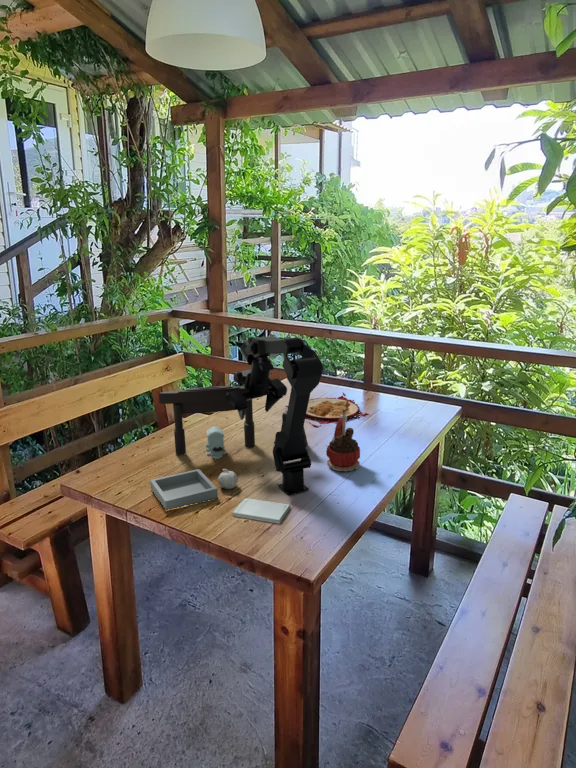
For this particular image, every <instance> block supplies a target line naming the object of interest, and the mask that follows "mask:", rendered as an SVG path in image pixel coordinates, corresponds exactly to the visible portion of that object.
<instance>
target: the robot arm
mask: <svg viewBox="0 0 576 768" xmlns="http://www.w3.org/2000/svg"><path fill="white" fill-rule="evenodd" d="M239 348H240V349H239V351H240V353H241V355H242V357H243V358H244V360H245V361H246V363H247V364H248V365H250V366H251V368H250V369H246V370H245V369H244V370H242V371H239V370H238V371H235V372H233V382H234V383H236V384H242V385H243V386H244V388H245V389H248V393H244V394H242V393H241V392H240V391H239V390H235V391H232V392H229V393H227V395H226V400H227V401H228V403H229V404H230V405H231V406H232V407H233V408H234V409H235V410H234V411H237V412H238V416H239V419H240V420H241V421H243V420H244V419H245V413H246V410H247V407H246V406H247V401H248V400H251V399H252V400H254V399H258V398H263V397H265V396H266V398H265V399H266V400H265V404H264V405H265V407H264V408H265V409H264V411H265V412H266V413H268V412H269V411H270V410H271V409H272V407H273V406H275V404H277V402H278V401H279V400H280V399H283V397H284V396H287V394H288V387H287V385H285V384H284V382H282V381H281V380H280V379H279V378H274V379H271V378H270V376H271V371H272V370H273V371H274V369H275V368H274V364H273V361H272V359H271V358H270V357H275V356H277V355H279V354H282V355H283V362H282V364H281V365H282V368H283V370H284V372H285V374H286V380H287V381H288V383H289V385H290V386H291V388H290V394H289V400H288V405H287V406H288V408H287V410H286V411H287V416H286V421H285V427H284V431H281V430H280V431H276V433H275V437H274V438H275V439H274V441H273V444H274V445H273V447H272V456H273V463H274V466H275V467H274V468H275V471H276V472H277V473H278V472H279V473H281V476H282V477H281V478H282V482H281V483H278V484H277V488H279V489H280V490H281V491H283V492H284V493H285V494H286V495H287V496H292V495H295V494H296V495H297V494H299V493H303V492H307V491H309V489H310V488H309V487H308V486H307V485H305V479H304V478H305V472H304V471H305V470H304V469H311V467H312V466H311V465H312V460H311V456H310V454H309V452H308V449H307V446H306V443H305V441H304V439H303V438H302V432H303V427H304V428H305V423H306V422H305V421H306V419H305V417H306V412H307V407H308V403H309V400H310V399H311V398H310V397H311V393H312V392H313V391H314V390H315V389H316V388H317V387H318V386H319V384H320V381H321V378H322V377H323V376H322V375H323V372H324V365H323V363H322V361H321V359H320V357H319V356H318V354H317V352H316V351H315V350H313V349H312V348H311V347H309V346H307V345H306V344H305V342H304V341H303V339H302V338H301V337H297V336H296V337H289V338H288V337H287V338H281V339H279V337H277V336H274V335H269V336H268V335H267V336H260V337H259V336H258V337H257V336H256V337H254V336H251V337H247V339H246V341H244V342H243V343H242V345H240V346H239ZM293 354H299V355H300V356H301V357H302V358H296V359H291V360H290V358H289V355H293ZM262 396H263V397H262Z"/></svg>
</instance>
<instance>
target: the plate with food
mask: <svg viewBox="0 0 576 768" xmlns="http://www.w3.org/2000/svg"><path fill="white" fill-rule="evenodd" d="M285 408H287V409H288V405H285ZM343 409H346V416H347V420H349V419H353V418H355V417H356V418H357V419H361V418H362V417H364V418H365V417H367V416H370V413H367V412H365V413H364V412H362V411H361V412H360V410H361V407H359V406H358V404H357V403H356V402H355V400H354V399H348V398H347V397H346V394H345V393H344V391H343V392H342V395H341V396H338V397H337V398H336V397H323V398H322V397H319V398H309V403H308V407H307V412H306V417H305V420H309V422H308V424H309V425H311V426H313V427H317V424H315V423H314V424H313V423H311V422H310V421H314V422H317V423H318V424H320V425H318V427H322V425H324V424H325V425H327V424H333V423H337V422H338V420H339V417H340V415H343Z"/></svg>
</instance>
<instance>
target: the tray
mask: <svg viewBox="0 0 576 768" xmlns="http://www.w3.org/2000/svg"><path fill="white" fill-rule="evenodd" d="M149 484H150V490H151V489H152V490H153V492H154V493H155V495H156V496H157V498H158V499H159V501H160V502H161V504H162V505H163V507H164V508H165V509H166V510H168V509H172V508H177V507H181V506H184V505H190V504H195V503H199V504H201V503H200V502H203V501H207V502H209V501H208V500H211V501H214V500H213V499H215V500H218V499H219V497H218V496H219V495H218V493H219V491H218V487H216V485H214V483H213V482H212V481H211V480H210V478H208V477H207V476H206V474H204V473H203V472H202V470H201V469H200V468H196V469H193V470H188V471H184V472H180V473H179V472H178V473H175V474H171V475H167V476H161V477H158V478H153V479H150V480H149ZM153 492H152V493H153ZM155 495H154V496H155ZM157 498H156V499H157ZM158 499H157V500H158ZM159 501H158V502H159ZM160 502H159V503H160ZM203 503H204V502H203ZM161 504H160V505H161ZM162 505H161V506H162ZM163 507H162V508H163ZM164 508H163V509H164Z"/></svg>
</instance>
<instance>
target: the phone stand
mask: <svg viewBox="0 0 576 768" xmlns="http://www.w3.org/2000/svg"><path fill="white" fill-rule="evenodd" d="M286 416H287V410H285V411H283V413H282V415H281V418H282V419H281V420H282V422H281V428H280V431H284V427H285V421H286ZM302 438H303V439H304V441H305V443H306V447H308V446H309V443H308V439H307V434H306V430H305V426H304V427H303V432H302Z"/></svg>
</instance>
